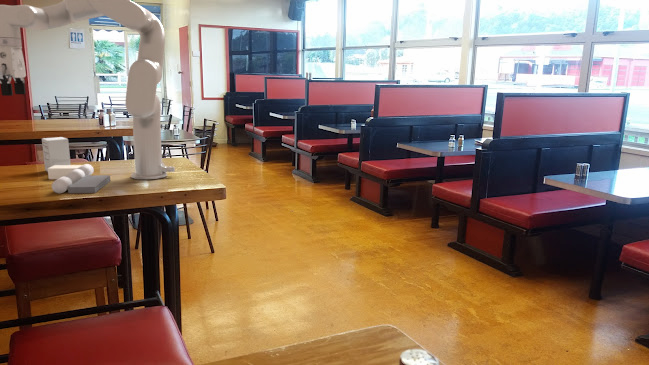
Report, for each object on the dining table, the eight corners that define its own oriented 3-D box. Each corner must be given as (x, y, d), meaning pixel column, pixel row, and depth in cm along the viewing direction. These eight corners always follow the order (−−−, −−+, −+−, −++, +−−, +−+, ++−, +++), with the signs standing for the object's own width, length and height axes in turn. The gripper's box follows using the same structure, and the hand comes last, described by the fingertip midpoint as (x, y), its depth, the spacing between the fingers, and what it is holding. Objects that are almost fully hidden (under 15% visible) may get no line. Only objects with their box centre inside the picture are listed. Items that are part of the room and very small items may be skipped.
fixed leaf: (110, 180, 174) (109, 168, 173) (95, 192, 157) (94, 179, 156) (72, 181, 172) (70, 168, 172) (52, 193, 155) (50, 179, 154)
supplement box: (65, 168, 194) (62, 136, 192) (71, 171, 189) (68, 138, 186) (44, 170, 189) (41, 138, 186) (50, 173, 184) (47, 140, 181)
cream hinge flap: (94, 175, 183) (93, 163, 182) (88, 179, 177) (87, 167, 176) (55, 175, 181) (54, 164, 180) (48, 179, 175) (47, 167, 174)
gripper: (8, 42, 159) (14, 96, 162) (31, 45, 175) (36, 94, 179) (-17, 41, 157) (-11, 95, 161) (8, 44, 174) (13, 93, 178)
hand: (14, 94), depth 170 cm, fingers open, 9 cm apart
